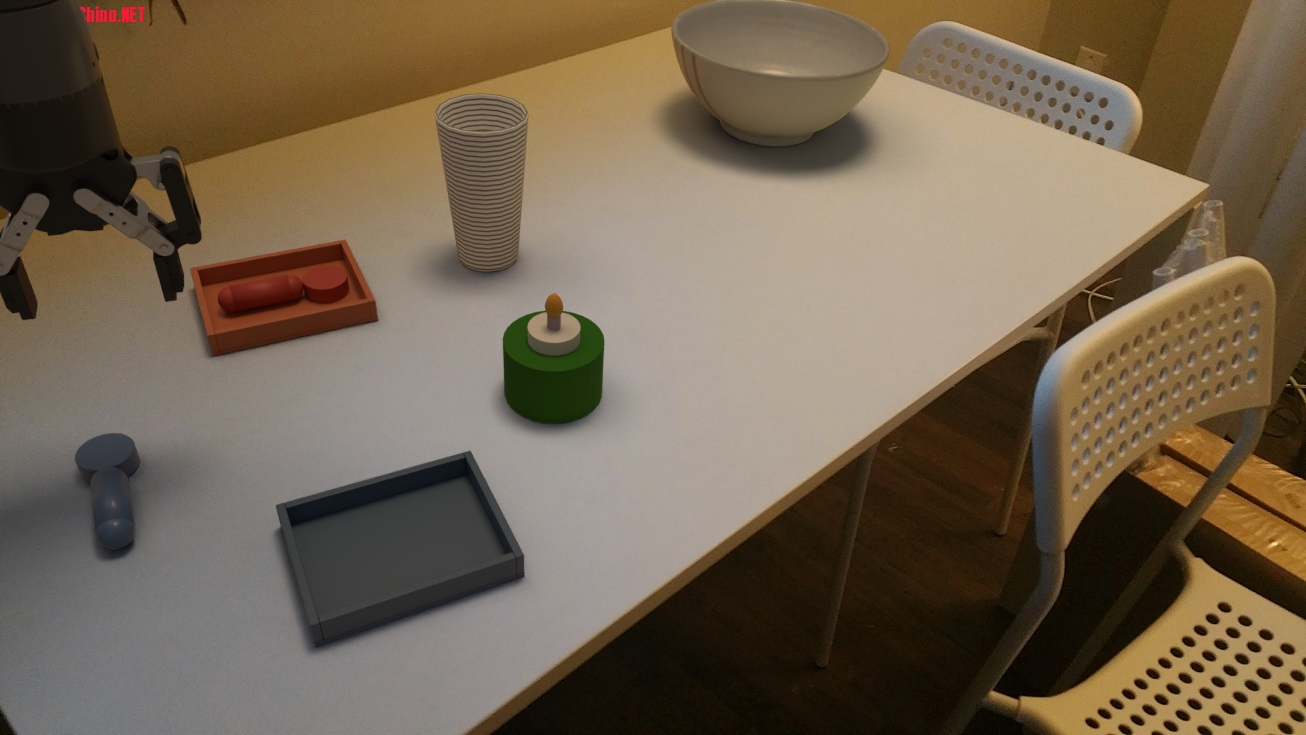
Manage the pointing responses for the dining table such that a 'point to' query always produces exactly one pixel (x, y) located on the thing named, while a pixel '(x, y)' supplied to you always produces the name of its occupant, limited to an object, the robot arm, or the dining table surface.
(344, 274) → the red spoon
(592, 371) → the candle
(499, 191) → the cup
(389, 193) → the dining table surface
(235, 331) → the red tray
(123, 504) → the blue spoon
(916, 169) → the dining table surface
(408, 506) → the dark grey tray
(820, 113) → the decorative bowl
